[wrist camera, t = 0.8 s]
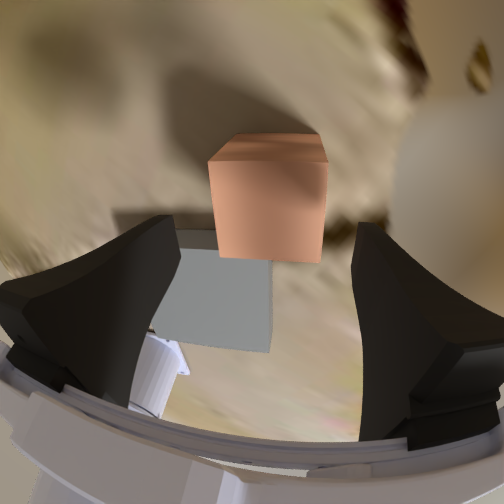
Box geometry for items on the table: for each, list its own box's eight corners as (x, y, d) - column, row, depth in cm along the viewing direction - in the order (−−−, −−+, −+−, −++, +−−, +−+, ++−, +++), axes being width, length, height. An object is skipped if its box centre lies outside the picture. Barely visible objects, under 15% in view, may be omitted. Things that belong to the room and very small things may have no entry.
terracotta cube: (242, 205, 19) (219, 257, 14) (236, 133, 16) (207, 161, 11) (316, 208, 18) (320, 262, 13) (319, 134, 15) (328, 163, 11)
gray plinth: (166, 319, 28) (157, 338, 26) (135, 228, 22) (120, 245, 20) (272, 332, 26) (269, 353, 24) (271, 232, 20) (267, 252, 18)
